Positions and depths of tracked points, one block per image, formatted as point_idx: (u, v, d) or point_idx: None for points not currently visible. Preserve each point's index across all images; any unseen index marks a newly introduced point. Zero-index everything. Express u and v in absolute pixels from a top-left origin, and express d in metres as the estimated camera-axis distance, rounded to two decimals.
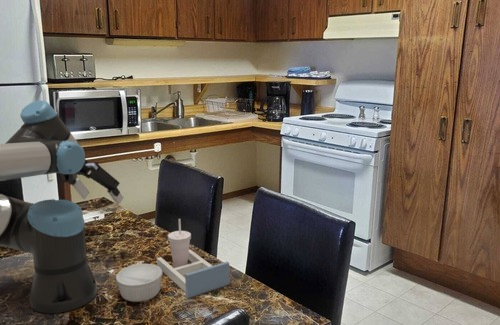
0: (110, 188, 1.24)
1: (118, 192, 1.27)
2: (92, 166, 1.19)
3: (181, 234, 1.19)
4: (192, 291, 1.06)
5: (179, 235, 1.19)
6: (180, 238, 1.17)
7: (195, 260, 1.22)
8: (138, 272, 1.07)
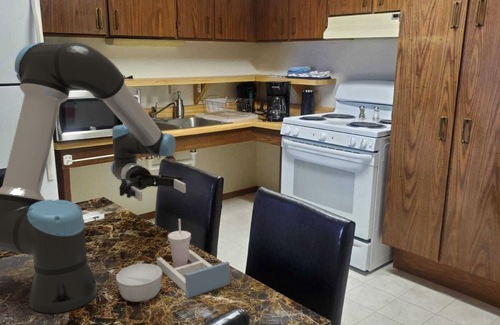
0: None
1: None
2: None
3: (181, 234, 1.19)
4: (192, 291, 1.06)
5: (179, 235, 1.19)
6: (180, 238, 1.17)
7: (195, 260, 1.22)
8: (138, 272, 1.07)
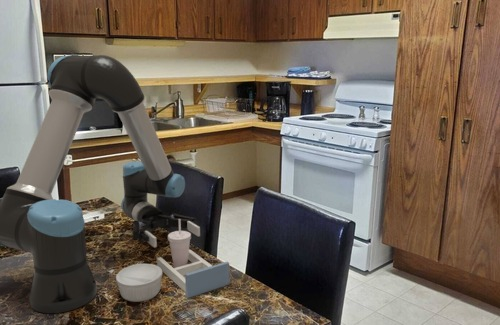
0: None
1: None
2: None
3: (181, 234, 1.19)
4: (192, 291, 1.06)
5: (179, 235, 1.19)
6: (180, 238, 1.17)
7: (195, 260, 1.22)
8: (138, 272, 1.07)
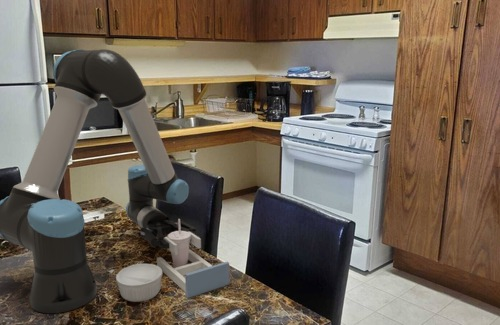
0: (191, 230, 1.24)
1: None
2: None
3: (181, 234, 1.19)
4: (192, 291, 1.06)
5: (179, 235, 1.18)
6: (180, 238, 1.17)
7: (195, 260, 1.22)
8: (138, 272, 1.07)
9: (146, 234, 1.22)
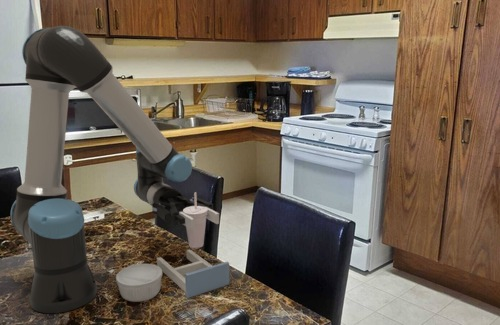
0: None
1: None
2: None
3: (197, 209, 1.10)
4: (192, 291, 1.06)
5: (195, 210, 1.09)
6: (197, 212, 1.08)
7: (195, 260, 1.22)
8: (138, 272, 1.07)
9: (159, 210, 1.13)
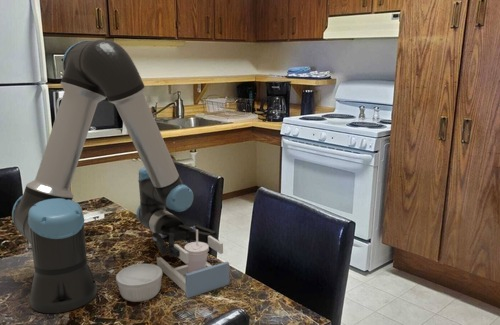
0: None
1: None
2: None
3: (198, 246, 1.12)
4: (192, 291, 1.06)
5: (196, 247, 1.11)
6: (198, 250, 1.10)
7: None
8: (138, 272, 1.07)
9: (157, 240, 1.14)
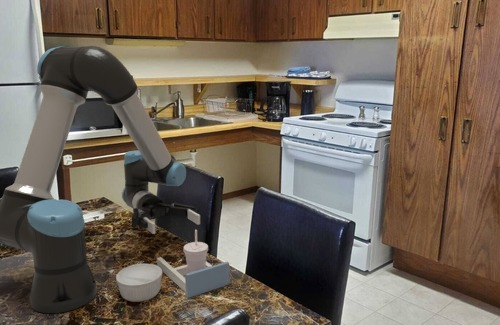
0: None
1: None
2: None
3: (197, 246, 1.12)
4: (192, 291, 1.06)
5: (195, 247, 1.11)
6: (197, 250, 1.10)
7: None
8: (138, 272, 1.07)
9: None
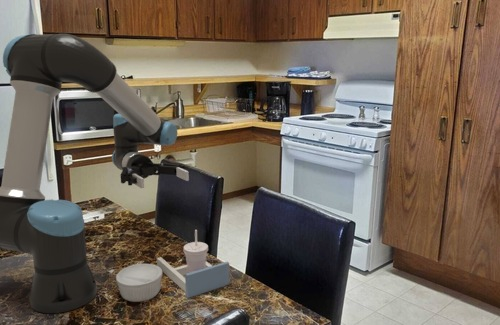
0: None
1: None
2: None
3: (197, 246, 1.12)
4: (192, 291, 1.06)
5: (195, 247, 1.11)
6: (197, 250, 1.10)
7: None
8: (138, 272, 1.07)
9: None
